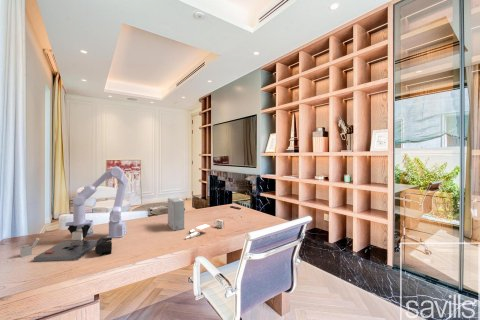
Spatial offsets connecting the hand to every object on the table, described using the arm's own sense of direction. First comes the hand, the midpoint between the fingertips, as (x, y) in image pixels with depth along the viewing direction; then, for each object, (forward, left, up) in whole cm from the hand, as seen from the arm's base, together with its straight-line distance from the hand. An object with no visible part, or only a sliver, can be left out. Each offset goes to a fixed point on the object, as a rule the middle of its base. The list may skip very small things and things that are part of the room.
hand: (79, 237), depth 129 cm
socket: (-4, +15, -2) cm, 15 cm away
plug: (0, 0, -2) cm, 2 cm away
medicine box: (+3, -10, -2) cm, 11 cm away
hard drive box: (-52, -21, -2) cm, 56 cm away
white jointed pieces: (-72, -9, -3) cm, 73 cm away
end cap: (-22, +17, -2) cm, 28 cm away
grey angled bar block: (+14, +17, -2) cm, 22 cm away
